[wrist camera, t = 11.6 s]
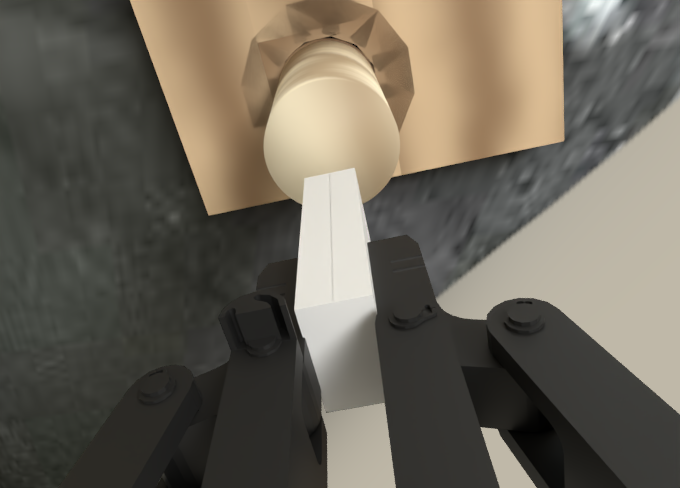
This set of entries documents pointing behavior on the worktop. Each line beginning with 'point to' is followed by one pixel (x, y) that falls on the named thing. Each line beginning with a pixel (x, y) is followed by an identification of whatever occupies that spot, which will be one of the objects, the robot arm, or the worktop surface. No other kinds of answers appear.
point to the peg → (330, 120)
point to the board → (389, 66)
